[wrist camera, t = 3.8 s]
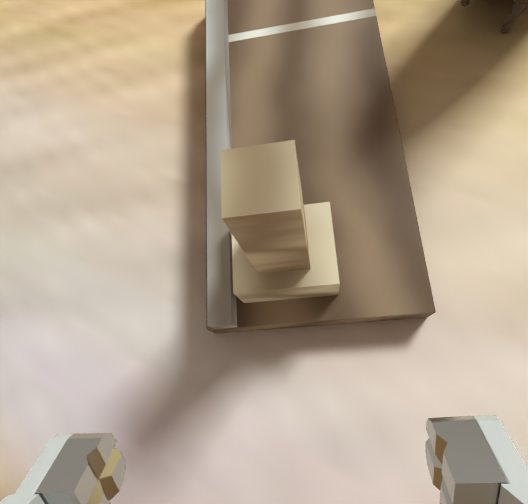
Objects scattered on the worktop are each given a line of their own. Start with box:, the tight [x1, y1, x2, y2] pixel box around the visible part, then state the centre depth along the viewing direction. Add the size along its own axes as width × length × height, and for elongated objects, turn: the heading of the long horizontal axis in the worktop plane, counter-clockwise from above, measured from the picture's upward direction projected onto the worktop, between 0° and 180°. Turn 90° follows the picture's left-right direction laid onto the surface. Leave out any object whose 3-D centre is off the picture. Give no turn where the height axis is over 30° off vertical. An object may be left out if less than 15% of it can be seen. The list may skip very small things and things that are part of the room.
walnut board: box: [205, 0, 435, 333], centre depth 29 cm, size 14×30×4 cm, turn 3°
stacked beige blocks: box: [220, 140, 340, 303], centre depth 20 cm, size 6×5×11 cm
